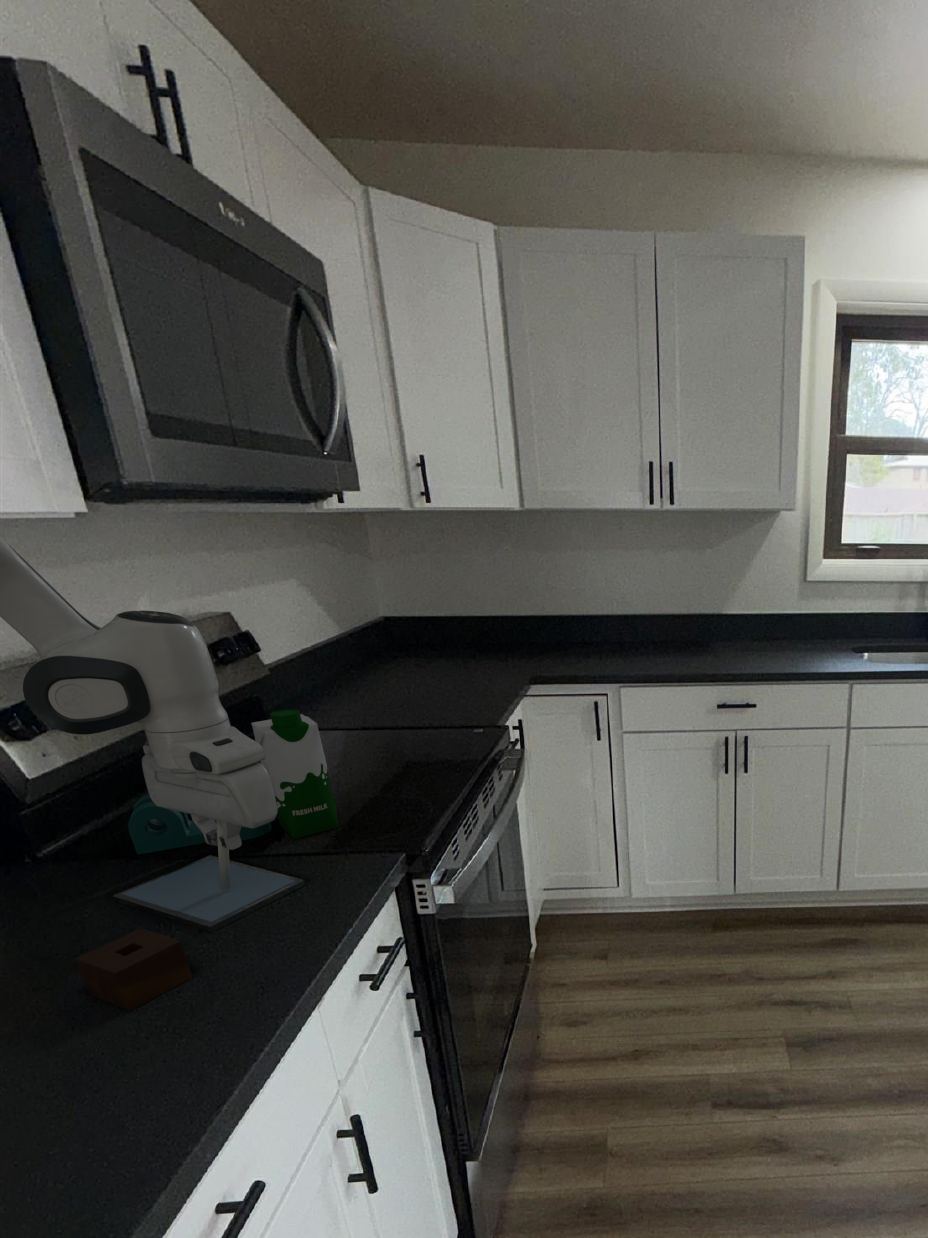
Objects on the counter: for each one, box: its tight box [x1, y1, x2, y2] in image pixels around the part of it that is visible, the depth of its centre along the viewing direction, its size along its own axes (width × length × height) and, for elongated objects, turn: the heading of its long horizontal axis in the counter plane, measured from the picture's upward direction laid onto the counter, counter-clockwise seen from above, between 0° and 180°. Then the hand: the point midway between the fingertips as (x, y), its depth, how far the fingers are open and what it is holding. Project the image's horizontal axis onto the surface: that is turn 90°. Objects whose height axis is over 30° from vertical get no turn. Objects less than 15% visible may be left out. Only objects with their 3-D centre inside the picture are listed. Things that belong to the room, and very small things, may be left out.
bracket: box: [127, 793, 273, 856], centre depth 123 cm, size 18×7×8 cm, turn 119°
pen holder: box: [75, 927, 193, 1012], centre depth 87 cm, size 7×7×5 cm
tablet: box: [112, 854, 306, 933], centre depth 108 cm, size 20×14×1 cm
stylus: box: [216, 820, 231, 892], centre depth 103 cm, size 1×1×12 cm
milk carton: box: [251, 708, 340, 840], centre depth 125 cm, size 9×9×20 cm
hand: (224, 845), depth 102 cm, fingers closed on stylus
